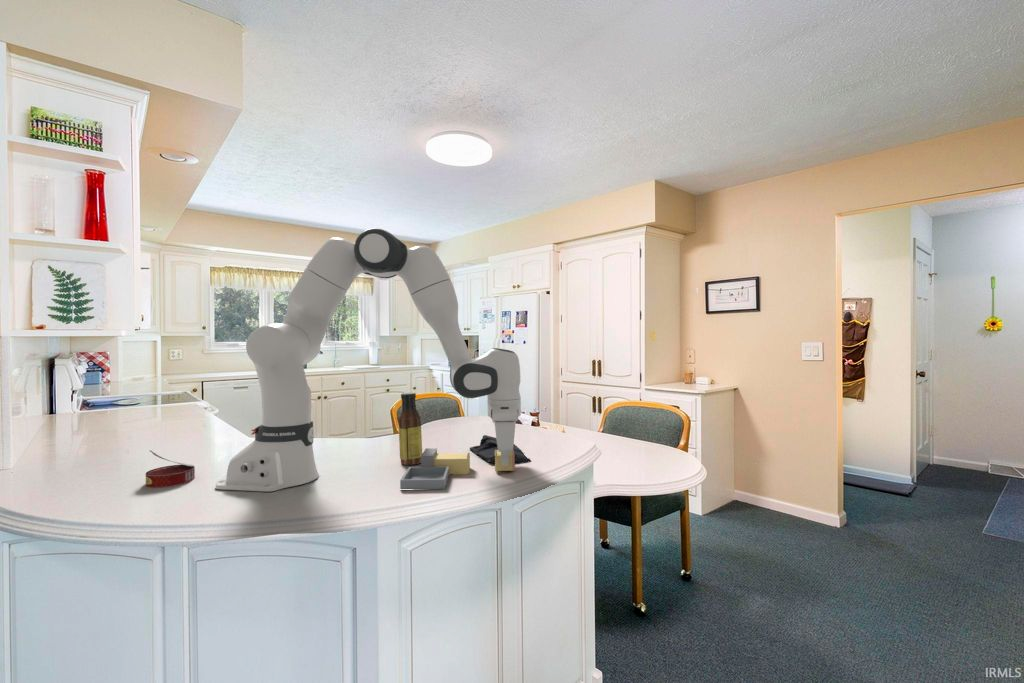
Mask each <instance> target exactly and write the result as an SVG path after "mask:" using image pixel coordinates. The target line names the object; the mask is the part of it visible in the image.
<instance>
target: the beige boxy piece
mask: <svg viewBox="0 0 1024 683" xmlns="http://www.w3.org/2000/svg"><path fill="white" fill-rule="evenodd" d="M470 456H471V453H470V452H466V453H464V452H460V453H459V452H458V453H456V452H453V453H449V452H448V453H444V452H443V453H438V448H435V447H434V448H432V447H430V448H425V449H424V451H422V455H421V463H420V467H433V466H449V474H453V475H469V474H470V470H471V469H470V467H471V462H470V461H471V459H470V458H471V457H470ZM469 469H470V470H469Z"/></svg>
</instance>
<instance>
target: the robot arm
mask: <svg viewBox="0 0 1024 683" xmlns="http://www.w3.org/2000/svg"><path fill="white" fill-rule="evenodd" d="M362 274H364V275H369V276H372V277H377V278H379V279H391V278H395V277H400V278H401V279H402V281H403V282H404V284H405V285H406V288H407V290H408V293H409V295H410V297H411V299H412V301H413V303H414V305H415V307H416V309H417V310H418V313H420V315H421V317H422V318H423V319H424V321H425V322H426V323H427V324H428V325H429V326H430V327H431V329H432V330H433V331H434V333H435V334H436V336H437V337H438V339H439V342H440V344H441V346H442V348H443V351H444V353H445V355H446V358H447V360H448V363H449V380H450V384H451V386H452V388H453V390H454V391H455V392H457V394H459V395H460V396H461V397H463V398H466V399H470V400H471V399H476V398H481V397H485V396H486V397H487V416H488V417H489V418H490V419H491V420H492V421H491V422H492V423H493V424H494V431H495V438H496V439H497V447H498V451H499V452H501V459H502V465H503V466H507V465H508V464H509V452H512V450H513V445H514V444H515V433H516V423H517V422H518V420H519V417H521V415H522V414H521V413H522V410H521V408H522V407H521V406H522V405H521V404H522V402H521V399H522V398H521V393H520V385H521V366H520V359H519V357H518V354H517V353H516V352H515V351H512V350H510V349H503V348H498V347H494V348H493V347H492V348H490V349H489V350H488V351H486V352H485V353H483V354H481V355H479V356H478V357H475V358H474V357H473V356H472V355H471V353H470V351H469V347H468V346H467V344H466V341H465V338H464V336H463V334H462V332H461V327H460V324H459V318H458V317H459V301H458V298H457V297H458V296H457V294H456V291H455V287H454V284H453V281H452V280H451V277H450V275H449V273H448V271H447V269H446V267H445V265H444V264H443V262H442V260H441V259H440V257H439V256H438V254H437V253H436V251H435V250H434V249H433V248H432V247H430V246H427V245H417V246H413V247H410V248H408V247H407V245H406V243H404V242H403V241H401V240H400V239H399V238H397V237H396V236H395V235H393V234H392V233H391V232H389V231H388V230H385V229H382V228H378V227H377V228H376V227H375V228H369V229H365V230H363V231H362V232H361V233H360V234H358V236H357V238H356V239H355V242H351V241H350V240H347V239H345V238H343V237H332V238H328V239H327V241H326V242H324V244H323V245H321V247H320V248H319V249H318V250H317V252H316V253H315V254H314V255H313V257H312V258H311V259H310V261H309V262H308V264H307V266H306V268H304V270H303V272H302V273H301V276H300V277H299V279H298V280H297V282H296V283H295V286H294V287H293V288H292V290H291V291H290V294H289V303H288V308H287V310H286V314H285V316H284V318H283V320H282V322H281V323H279V322H271V323H267V324H265V325H262V326H260V327H257V328H256V329H254V330H253V331H252V332H251V333H250V334H249V335H248V337H247V340H246V342H245V350H246V353H247V356H248V358H249V359H250V360H251V362H252V363H253V365H254V368H255V372H256V375H257V379H258V382H259V386H260V394H261V418H262V419H261V422H262V424H260V425H258V426H257V427H255V428H254V429H251V430H250V431H251V435H254V436H255V437H254V440H253V441H252V442H251V443H249V444H248V445H247V446H246V447H244V448H243V449H241V450H240V451H239V452H238V453H236V454H235V455H234V456H233V457H232V458H231V459H230V460H229V463H228V466H227V472H226V475H225V476H223V477H222V478H220V479H218V480H217V482H216V483H215V490H229V491H247V492H248V491H250V492H268V493H270V492H277V491H280V490H282V489H286V488H290V487H291V488H292V487H296V486H300V485H304V484H307V483H310V482H312V481H315V480H316V479H317V478H319V476H320V474H319V471H318V469H317V464H316V461H315V455H314V454H315V453H314V447H313V443H314V438H315V437H314V436H315V432H314V431H315V430H314V421H312V390H311V388H310V386H309V384H308V381H307V376H306V373H305V366H306V365H307V364H309V363H311V362H312V361H313V360H315V358H316V357H318V355H319V354H320V351H321V344H322V342H323V340H324V338H325V335H326V332H327V330H328V327H329V324H330V322H331V321H332V318H333V316H334V314H335V313H336V311H337V309H338V307H339V306H340V304H341V302H342V300H343V299H344V297H345V296H346V294H347V293H348V291H349V289H350V288H351V286H352V284H353V282H354V281H355V280H356V278H357V277H359V275H362Z"/></svg>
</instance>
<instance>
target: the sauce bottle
mask: <svg viewBox="0 0 1024 683" xmlns="http://www.w3.org/2000/svg"><path fill="white" fill-rule="evenodd" d="M416 397H417V394H416V392H402V393H401V394H400V399H401V403H402V406H401V411H400V414H399V416H398V441H399V459H400V463H401V465H404V466H415V465H419V464H421V455H422V454H423V438H422V424H421V422H422V421H421V416H420V414H419V413H418V410H417V405H416Z"/></svg>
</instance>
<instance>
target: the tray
mask: <svg viewBox="0 0 1024 683" xmlns="http://www.w3.org/2000/svg"><path fill="white" fill-rule="evenodd" d="M404 472H405V473H404V474H403V475H402V476H401V478H400V480H399V486H400V487H399V488H400V489H445V490H446V488H445V487H447V484H448V481H449V478H450V475H449V466H433V467H421V466H409V467H408V468H407V469H406V470H405V471H404ZM448 477H449V478H448ZM447 480H448V481H447ZM446 483H447V484H446ZM400 489H399V490H400Z"/></svg>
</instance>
